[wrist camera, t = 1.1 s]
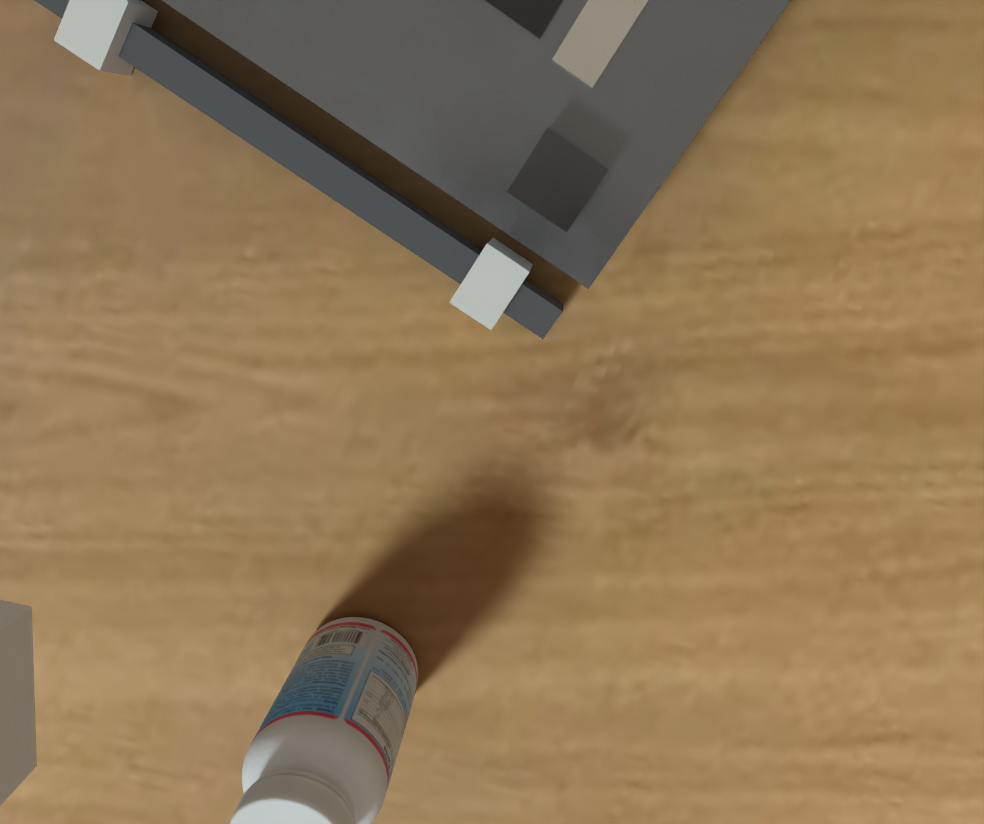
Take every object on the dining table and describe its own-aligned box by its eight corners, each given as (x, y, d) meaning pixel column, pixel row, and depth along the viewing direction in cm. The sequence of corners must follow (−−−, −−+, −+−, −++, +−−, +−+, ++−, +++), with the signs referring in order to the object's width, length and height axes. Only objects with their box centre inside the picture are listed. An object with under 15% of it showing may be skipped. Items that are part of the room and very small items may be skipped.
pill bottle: (292, 690, 41) (192, 876, 31) (322, 595, 39) (225, 759, 29) (402, 730, 41) (339, 929, 31) (437, 636, 39) (383, 816, 29)
